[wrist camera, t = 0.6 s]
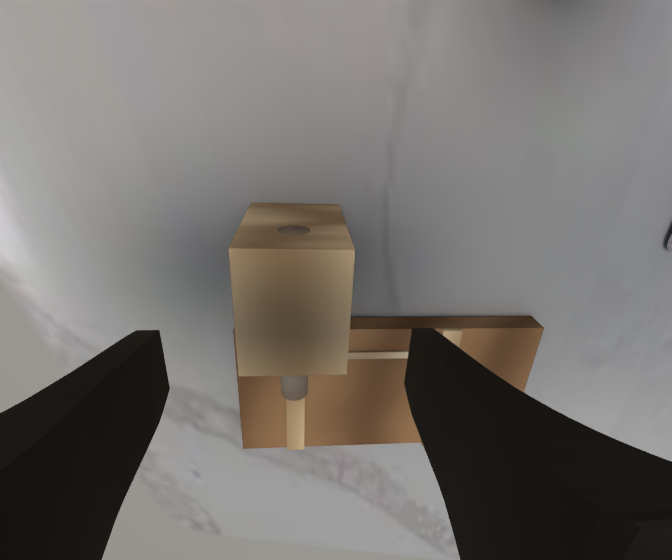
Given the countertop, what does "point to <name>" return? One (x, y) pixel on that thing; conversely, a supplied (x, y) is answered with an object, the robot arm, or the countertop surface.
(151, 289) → the countertop surface
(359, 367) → the walnut board
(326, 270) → the pale wood holed block
